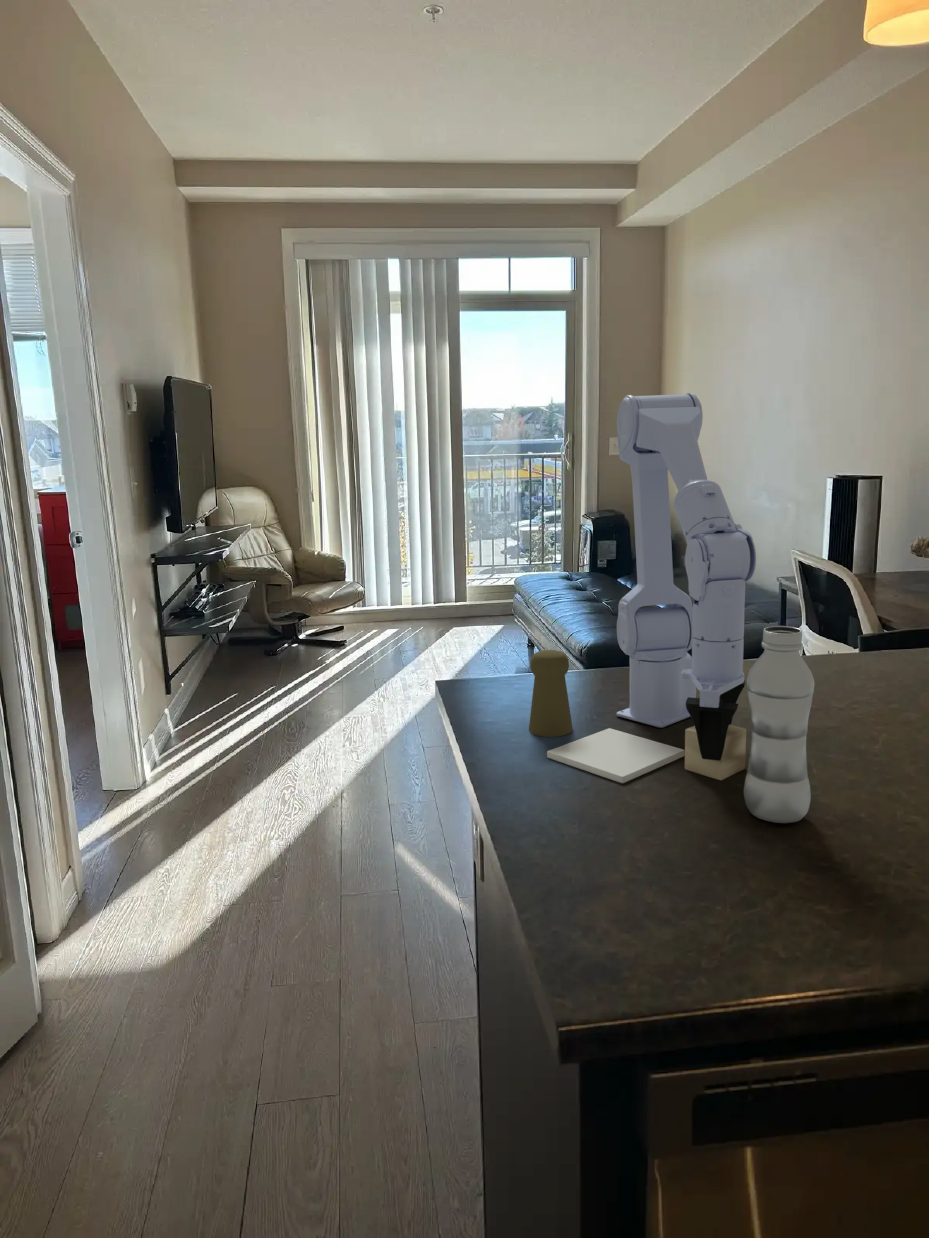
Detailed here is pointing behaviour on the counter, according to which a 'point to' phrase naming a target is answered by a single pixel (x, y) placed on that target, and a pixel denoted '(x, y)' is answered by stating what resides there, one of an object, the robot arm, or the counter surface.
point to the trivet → (616, 754)
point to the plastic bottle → (779, 728)
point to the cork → (550, 695)
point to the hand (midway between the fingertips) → (715, 747)
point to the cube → (729, 761)
